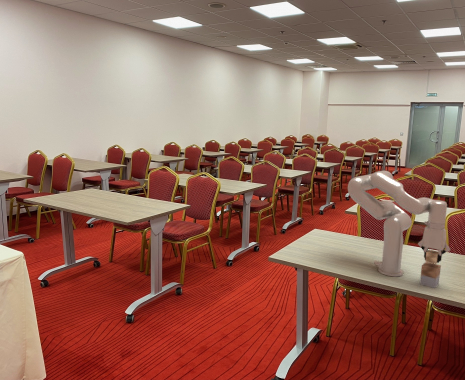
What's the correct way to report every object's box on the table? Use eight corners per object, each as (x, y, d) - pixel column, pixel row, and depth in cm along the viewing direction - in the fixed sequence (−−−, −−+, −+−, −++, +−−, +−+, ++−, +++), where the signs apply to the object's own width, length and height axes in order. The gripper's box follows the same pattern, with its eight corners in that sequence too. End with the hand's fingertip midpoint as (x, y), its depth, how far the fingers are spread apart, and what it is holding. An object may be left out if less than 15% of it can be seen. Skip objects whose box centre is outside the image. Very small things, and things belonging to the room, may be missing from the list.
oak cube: (425, 261, 196) (426, 251, 195) (428, 258, 199) (429, 249, 198) (436, 263, 192) (437, 254, 192) (438, 261, 196) (440, 251, 195)
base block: (419, 284, 198) (420, 274, 197) (423, 279, 203) (424, 270, 202) (434, 288, 194) (436, 278, 193) (438, 283, 199) (439, 274, 198)
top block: (420, 274, 197) (421, 265, 196) (425, 270, 202) (426, 261, 201) (435, 278, 193) (437, 269, 192) (439, 274, 198) (440, 265, 197)
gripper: (415, 223, 195) (411, 258, 199) (453, 230, 184) (449, 267, 188) (419, 221, 201) (416, 254, 204) (457, 227, 190) (453, 262, 193)
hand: (432, 260), depth 196 cm, fingers closed on oak cube, 5 cm apart
